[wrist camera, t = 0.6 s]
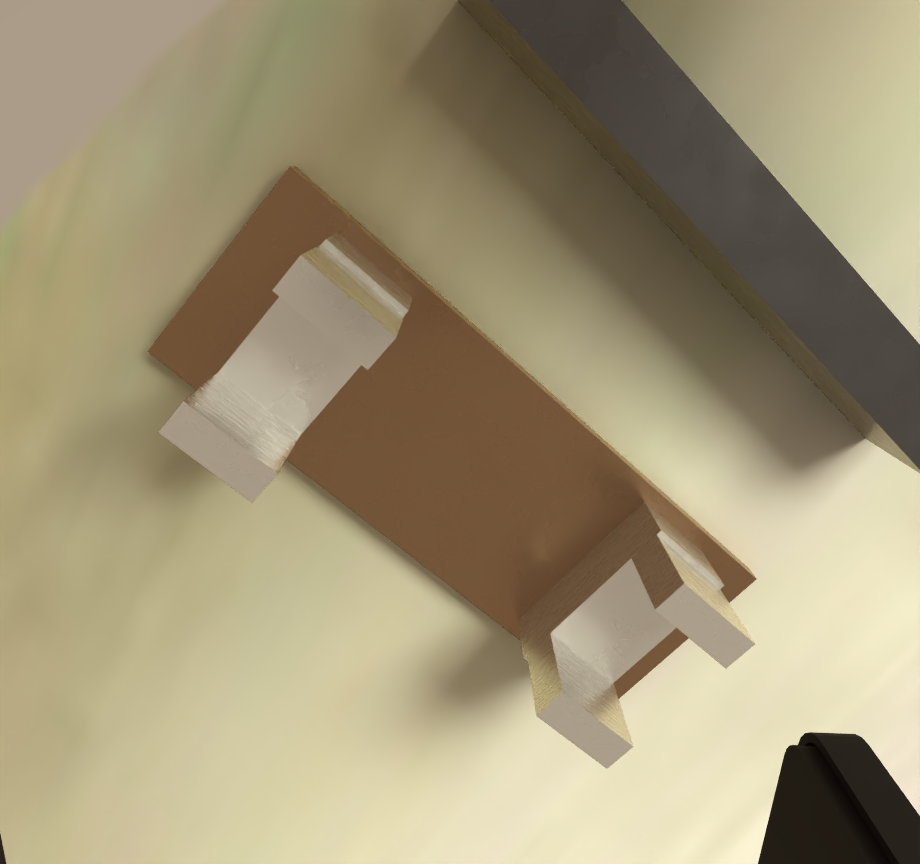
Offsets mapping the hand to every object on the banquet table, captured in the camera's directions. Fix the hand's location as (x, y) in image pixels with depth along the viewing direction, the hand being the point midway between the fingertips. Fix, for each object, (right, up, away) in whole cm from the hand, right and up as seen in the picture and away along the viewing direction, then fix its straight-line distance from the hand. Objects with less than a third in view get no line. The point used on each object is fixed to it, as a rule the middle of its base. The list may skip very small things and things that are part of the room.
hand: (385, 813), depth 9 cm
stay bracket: (+1, +3, +26) cm, 26 cm away
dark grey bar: (+11, +14, +23) cm, 29 cm away
